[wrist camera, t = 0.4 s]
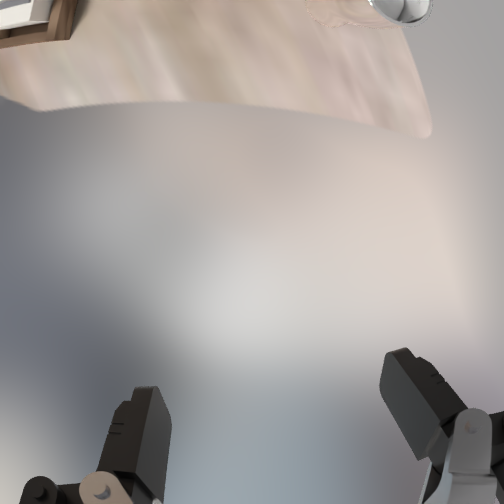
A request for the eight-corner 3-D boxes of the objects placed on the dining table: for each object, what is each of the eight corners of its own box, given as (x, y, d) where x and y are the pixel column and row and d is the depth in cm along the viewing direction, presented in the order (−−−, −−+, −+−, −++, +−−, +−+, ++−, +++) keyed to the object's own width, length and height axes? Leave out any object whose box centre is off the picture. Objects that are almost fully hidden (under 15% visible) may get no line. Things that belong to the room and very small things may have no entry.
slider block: (55, 21, 20) (27, 20, 15) (12, 28, 18) (-18, 31, 13) (65, -16, 17) (38, -24, 12) (20, -7, 15) (-9, -10, 10)
